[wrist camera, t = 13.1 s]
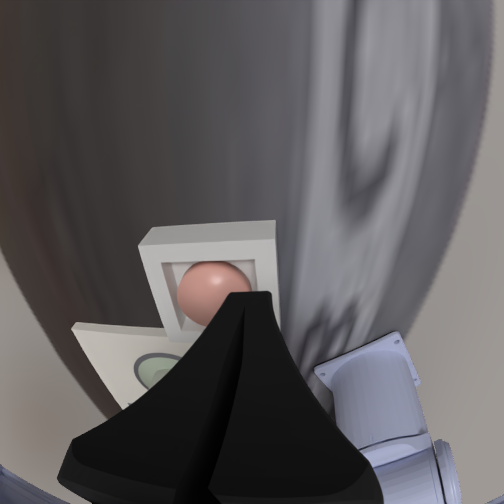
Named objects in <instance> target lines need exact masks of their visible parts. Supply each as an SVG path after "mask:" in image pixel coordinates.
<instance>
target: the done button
mask: <svg viewBox="0 0 504 504" xmlns="http://www.w3.org/2000/svg"><path fill="white" fill-rule="evenodd" d="M248 291H252V288H251V284H250V282H249V280H248V278H247V276H246V275H245V274H244V273H243V272H242V271H241V270H240V269H239V268H237V267H236V266H234V265H232V264H230V263H228V262H225V261H200V262H197V263H195V264H193V265H192V266H190V267H189V268H188V269H187V270H186V272H185V273H184V275H183V277H182V280H181V282H180V284H179V286H178V289H177V301H178V304H179V306H180V308H181V310H182V311H183V313H184V314H185V315H186V316H187V317H188V318H190V319H191V320H192V321H194V322H196V323H197V324H200V325H202V326H205V327H207V325H208V324H209V323H210V321H211V320H212V318H213V317H214V315H215V314H216V312H217V311H218V309H219V308H220V306H221V305H222V303H223V302H224V300H225V298H226V297H227V295H228V294H229V293H230V292H248Z"/></svg>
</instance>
